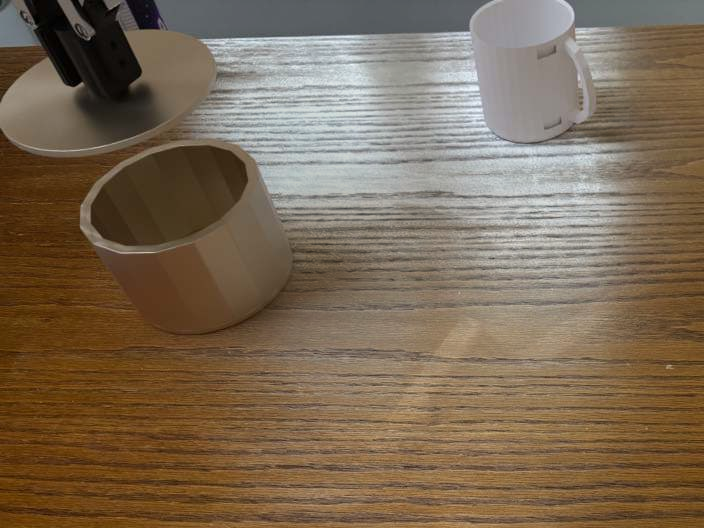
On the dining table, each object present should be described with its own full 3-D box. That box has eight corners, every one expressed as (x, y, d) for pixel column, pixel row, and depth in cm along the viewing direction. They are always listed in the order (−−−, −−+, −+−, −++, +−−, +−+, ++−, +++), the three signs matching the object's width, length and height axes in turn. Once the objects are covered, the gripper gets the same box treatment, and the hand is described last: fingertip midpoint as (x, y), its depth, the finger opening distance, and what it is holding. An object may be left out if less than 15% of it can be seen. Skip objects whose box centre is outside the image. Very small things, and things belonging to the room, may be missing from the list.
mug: (465, 116, 80) (448, 21, 73) (539, 77, 83) (530, -18, 76) (544, 171, 74) (534, 74, 67) (621, 127, 77) (619, 29, 70)
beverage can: (196, 88, 88) (143, -28, 78) (143, 108, 86) (82, -9, 77) (181, 65, 91) (129, -50, 81) (130, 84, 89) (70, -31, 80)
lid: (-39, 137, 55) (-96, 58, 51) (113, 29, 63) (74, -48, 58) (118, 187, 51) (71, 105, 46) (262, 64, 58) (233, -17, 54)
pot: (99, 308, 68) (41, 226, 62) (205, 208, 75) (163, 125, 68) (224, 354, 64) (176, 272, 57) (324, 243, 71) (292, 159, 64)
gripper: (-246, -247, 42) (-23, 87, 56) (-25, -223, 37) (158, 139, 51) (-118, -293, 46) (60, 31, 60) (98, -277, 40) (236, 74, 55)
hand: (104, 78), depth 56 cm, fingers closed on lid, 2 cm apart
